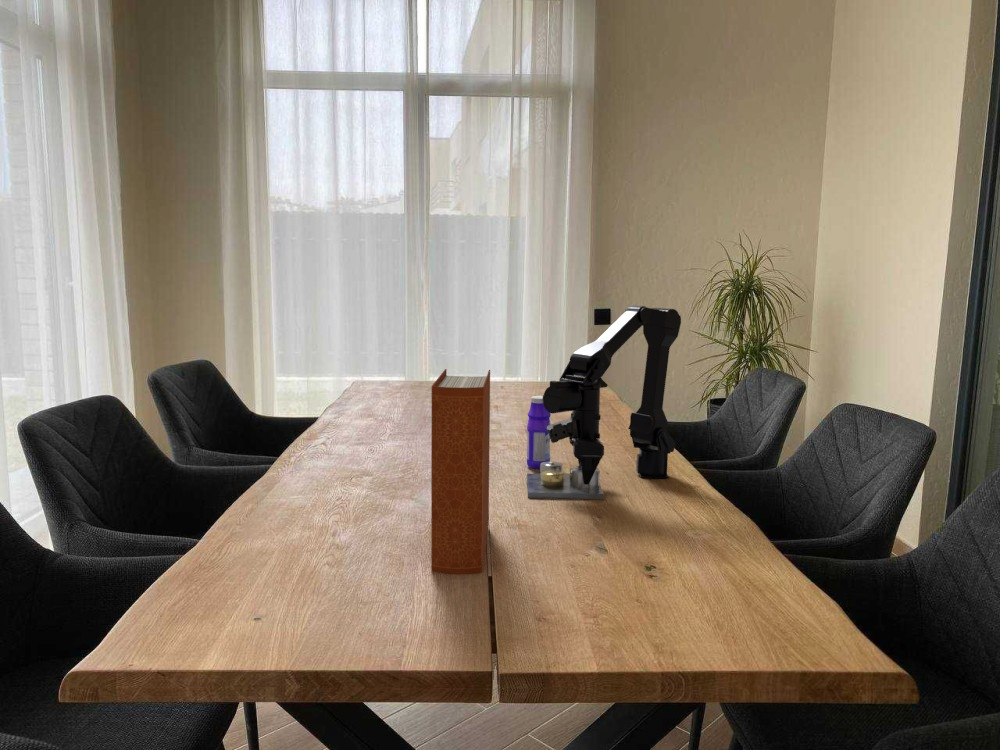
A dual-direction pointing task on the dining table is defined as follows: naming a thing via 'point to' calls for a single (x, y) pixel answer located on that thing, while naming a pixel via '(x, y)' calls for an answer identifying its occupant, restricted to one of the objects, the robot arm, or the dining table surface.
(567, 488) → the plate
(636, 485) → the dining table surface
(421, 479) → the dining table surface
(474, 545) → the book
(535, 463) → the bottle
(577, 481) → the planet gear
